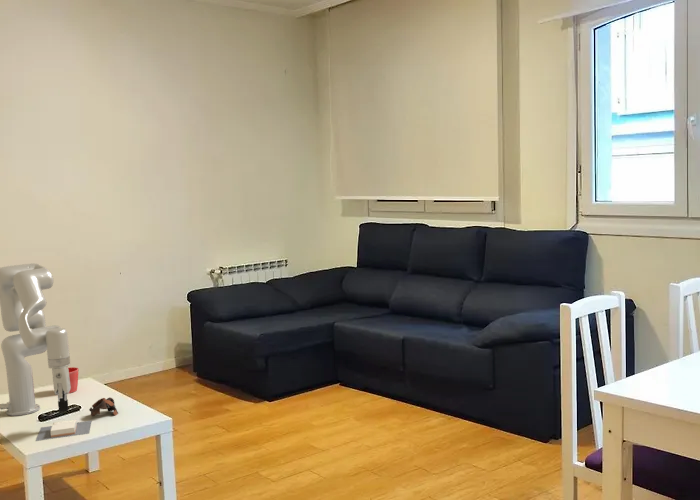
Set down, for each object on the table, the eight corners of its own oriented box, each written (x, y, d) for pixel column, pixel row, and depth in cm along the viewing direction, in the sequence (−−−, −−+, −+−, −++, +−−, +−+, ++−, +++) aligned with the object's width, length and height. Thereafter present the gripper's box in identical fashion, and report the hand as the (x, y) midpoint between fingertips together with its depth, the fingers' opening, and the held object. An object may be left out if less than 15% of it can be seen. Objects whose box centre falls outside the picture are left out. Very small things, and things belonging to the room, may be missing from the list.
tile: (54, 428, 274) (51, 437, 264) (53, 422, 274) (50, 430, 264) (76, 425, 276) (74, 434, 267) (76, 419, 276) (74, 427, 266)
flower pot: (49, 395, 325) (47, 373, 324) (63, 388, 335) (61, 367, 334) (72, 395, 323) (70, 373, 322) (85, 388, 334) (83, 366, 333)
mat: (35, 442, 262) (35, 440, 262) (41, 429, 277) (40, 427, 277) (89, 435, 266) (89, 433, 266) (91, 422, 282) (91, 420, 282)
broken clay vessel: (115, 420, 284) (102, 404, 281) (96, 431, 286) (83, 415, 283) (125, 403, 295) (113, 388, 293) (106, 414, 297) (94, 398, 295)
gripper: (68, 365, 266) (72, 415, 268) (71, 356, 281) (76, 404, 282) (45, 367, 264) (50, 418, 266) (50, 359, 278) (55, 406, 280)
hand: (63, 410), depth 274 cm, fingers closed
